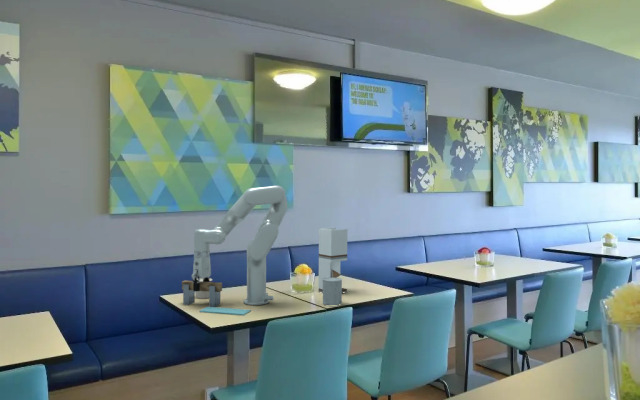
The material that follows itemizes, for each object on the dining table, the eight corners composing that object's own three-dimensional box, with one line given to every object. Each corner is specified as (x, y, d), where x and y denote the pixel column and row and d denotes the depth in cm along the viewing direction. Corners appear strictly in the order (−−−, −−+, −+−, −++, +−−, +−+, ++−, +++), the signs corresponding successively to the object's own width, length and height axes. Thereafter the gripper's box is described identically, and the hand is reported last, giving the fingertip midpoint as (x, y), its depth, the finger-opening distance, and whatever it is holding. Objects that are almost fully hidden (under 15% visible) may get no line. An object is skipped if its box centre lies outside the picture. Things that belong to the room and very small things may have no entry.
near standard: (220, 304, 248) (220, 284, 248) (214, 307, 242) (214, 286, 242) (214, 303, 249) (214, 283, 248) (209, 306, 243) (209, 286, 243)
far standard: (194, 302, 252) (194, 282, 251) (188, 305, 246) (188, 284, 246) (189, 302, 252) (189, 282, 252) (183, 304, 247) (183, 284, 246)
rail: (222, 290, 246) (222, 282, 246) (219, 292, 243) (219, 283, 243) (185, 288, 251) (185, 280, 251) (181, 289, 248) (181, 281, 248)
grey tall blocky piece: (331, 295, 269) (331, 230, 268) (318, 292, 278) (318, 228, 277) (346, 292, 276) (347, 229, 275) (334, 289, 285) (334, 227, 284)
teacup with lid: (214, 298, 262) (214, 275, 261) (196, 299, 258) (196, 276, 258) (209, 293, 273) (209, 271, 272) (192, 294, 269) (192, 273, 269)
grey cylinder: (328, 307, 244) (328, 281, 244) (319, 302, 252) (319, 278, 252) (345, 304, 248) (345, 280, 248) (335, 300, 257) (336, 276, 256)
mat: (250, 311, 235) (250, 309, 235) (243, 315, 227) (243, 314, 227) (207, 307, 240) (207, 306, 240) (199, 312, 233) (199, 310, 233)
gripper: (200, 257, 237) (199, 293, 238) (216, 252, 254) (216, 286, 254) (185, 256, 239) (185, 292, 240) (203, 251, 256) (203, 285, 256)
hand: (201, 289), depth 247 cm, fingers open, 9 cm apart
